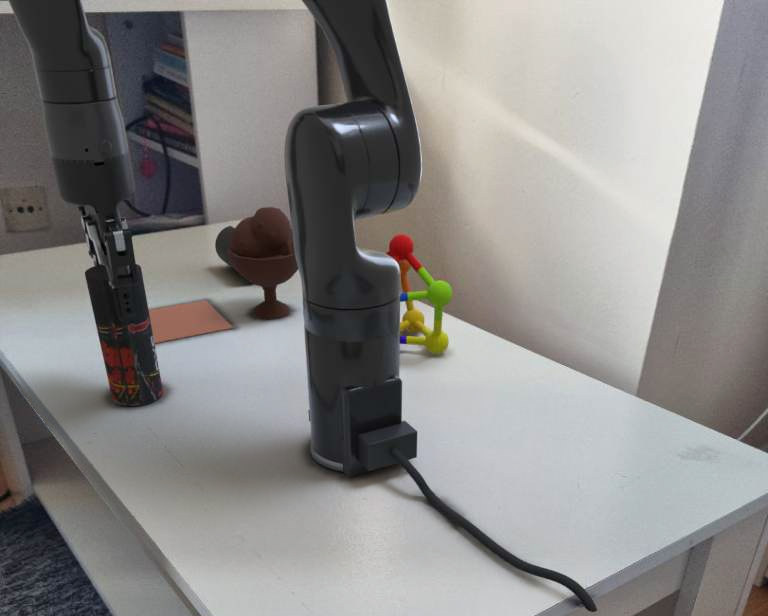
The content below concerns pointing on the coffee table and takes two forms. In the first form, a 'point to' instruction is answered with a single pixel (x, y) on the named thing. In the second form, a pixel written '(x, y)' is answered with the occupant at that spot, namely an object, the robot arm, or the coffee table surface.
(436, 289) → the educational toy
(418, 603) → the coffee table surface
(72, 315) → the coffee table surface
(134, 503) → the coffee table surface
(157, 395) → the deodorant
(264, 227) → the ice cream bowl
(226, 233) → the end cap
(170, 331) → the tile
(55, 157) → the robot arm
